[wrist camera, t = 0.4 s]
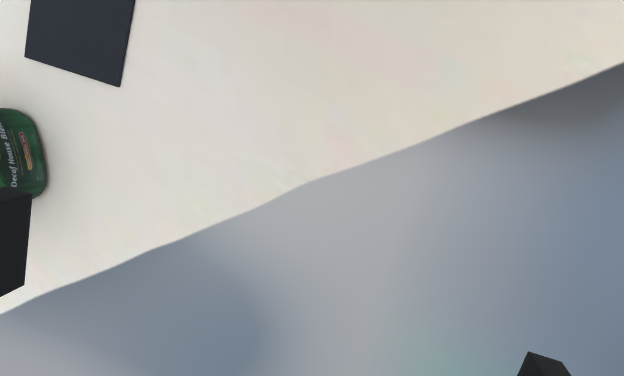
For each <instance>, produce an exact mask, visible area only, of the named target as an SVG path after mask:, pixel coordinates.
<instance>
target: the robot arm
mask: <svg viewBox="0 0 624 376" xmlns="http://www.w3.org/2000/svg"><path fill="white" fill-rule="evenodd" d="M31 205H32V194H31V193H28V192H25V191H21V190H18V189H15V188H12V187H9V186H6V187H1V188H0V297H1V296H3V295H5V294H7V293H9V292H11V291H13V290H15V289H17V288H19V287H21V286H23V285H24V282H25V271H26V260H27V249H28V238H29V227H30V216H31ZM517 376H571V375H570V373H569V372H568V370H567V369H566V368H565V366H564V365H563V363H562V362H560V361H557V360H554V359H551V358H547V357H544V356H541V355H538V354H535V353H532V352H528V353H527V355H526V357H525V359H524V362H523V364H522V366H521V369H520V371H519V373H518V375H517Z"/></svg>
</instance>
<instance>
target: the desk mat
mask: <svg viewBox="0 0 624 376" xmlns="http://www.w3.org/2000/svg"><path fill="white" fill-rule="evenodd" d="M134 4H135V0H31V6H30V14H29V22H28V30H27V39H26V47H25V55H24V57H27V58H30V59H33V60H36V61H39V62H42V63H45V64H48V65H51V66H54V67H58V68H61V69H64V70H67V71H70V72H73V73H76V74H79V75H82V76H85V77H89V78H92V79H95V80H98V81H101V82H104V83H107V84H110V85H113V86H116V87H120V82H121V77H122V71H123V65H124V60H125V54H126V49H127V43H128V37H129V32H130V26H131V21H132V15H133V9H134Z"/></svg>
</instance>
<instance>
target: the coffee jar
mask: <svg viewBox="0 0 624 376" xmlns="http://www.w3.org/2000/svg"><path fill="white" fill-rule="evenodd" d="M45 182H46V175H45V166H44V160H43V155H42V150H41V146H40V142H39V139H38V136H37V133H36V130H35V127H34V125H33V124H32V122H31V121H30V119H29V118H28V117H27V116H25V115H24V114H23V113H21V112H19V111H17V110H14V109H5V108H0V188H1V187H6V186H9V187H12V188H15V189H18V190H21V191H25V192H28V193H31V194H32V199H34V198H36V197H37V196H39V194H40V193H41V192H42V191H43V189H44V186H45Z"/></svg>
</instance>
